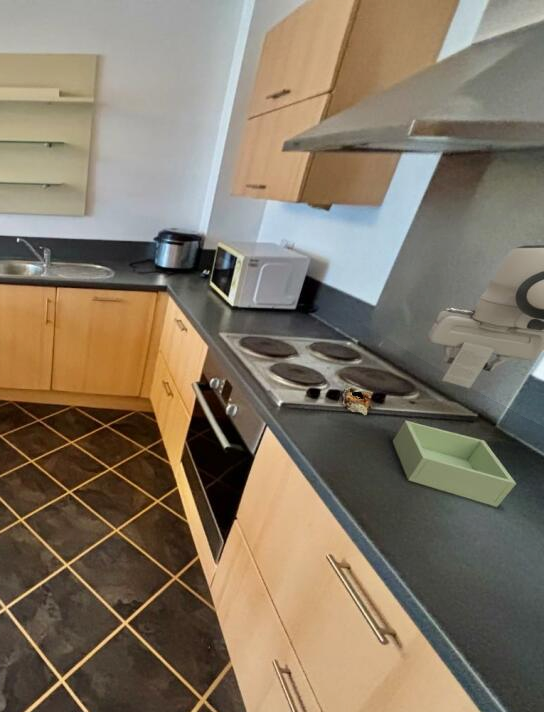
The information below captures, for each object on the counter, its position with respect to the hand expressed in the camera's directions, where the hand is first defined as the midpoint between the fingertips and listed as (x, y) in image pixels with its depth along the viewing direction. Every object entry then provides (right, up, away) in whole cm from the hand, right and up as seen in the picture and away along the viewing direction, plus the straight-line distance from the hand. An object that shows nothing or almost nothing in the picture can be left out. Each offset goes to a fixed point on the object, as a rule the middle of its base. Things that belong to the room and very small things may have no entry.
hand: (466, 366), depth 105 cm
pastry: (-24, -10, +5) cm, 27 cm away
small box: (0, -4, +2) cm, 4 cm away
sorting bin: (-25, -23, -19) cm, 39 cm away
